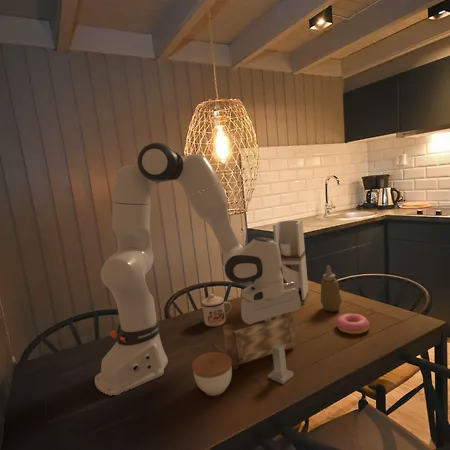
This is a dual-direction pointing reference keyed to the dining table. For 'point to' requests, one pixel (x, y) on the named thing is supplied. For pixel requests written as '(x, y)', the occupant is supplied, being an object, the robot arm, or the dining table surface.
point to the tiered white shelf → (292, 254)
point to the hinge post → (230, 344)
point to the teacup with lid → (214, 310)
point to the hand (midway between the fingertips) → (273, 328)
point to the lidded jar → (212, 372)
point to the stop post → (279, 365)
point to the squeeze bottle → (330, 292)
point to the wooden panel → (264, 338)
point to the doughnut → (352, 323)
